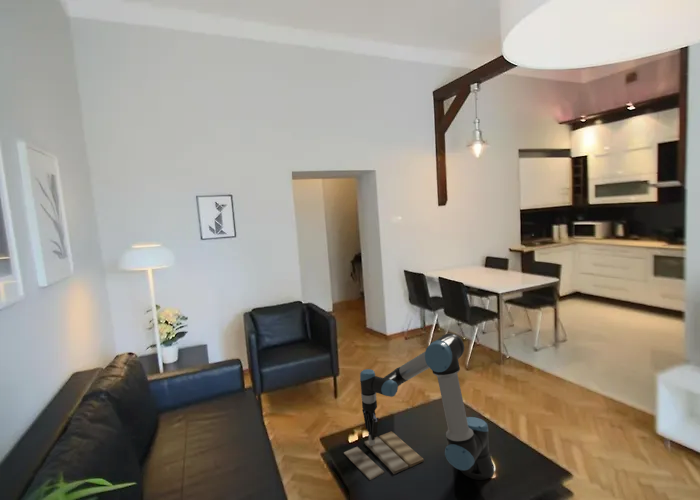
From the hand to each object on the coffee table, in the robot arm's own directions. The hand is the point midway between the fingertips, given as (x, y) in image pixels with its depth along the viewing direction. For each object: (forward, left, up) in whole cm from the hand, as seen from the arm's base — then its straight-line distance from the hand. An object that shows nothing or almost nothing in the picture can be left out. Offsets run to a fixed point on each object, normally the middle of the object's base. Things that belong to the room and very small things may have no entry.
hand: (372, 444), depth 192 cm
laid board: (-8, -12, -2) cm, 14 cm away
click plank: (-8, -3, -2) cm, 9 cm away
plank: (-7, +9, -3) cm, 12 cm away
